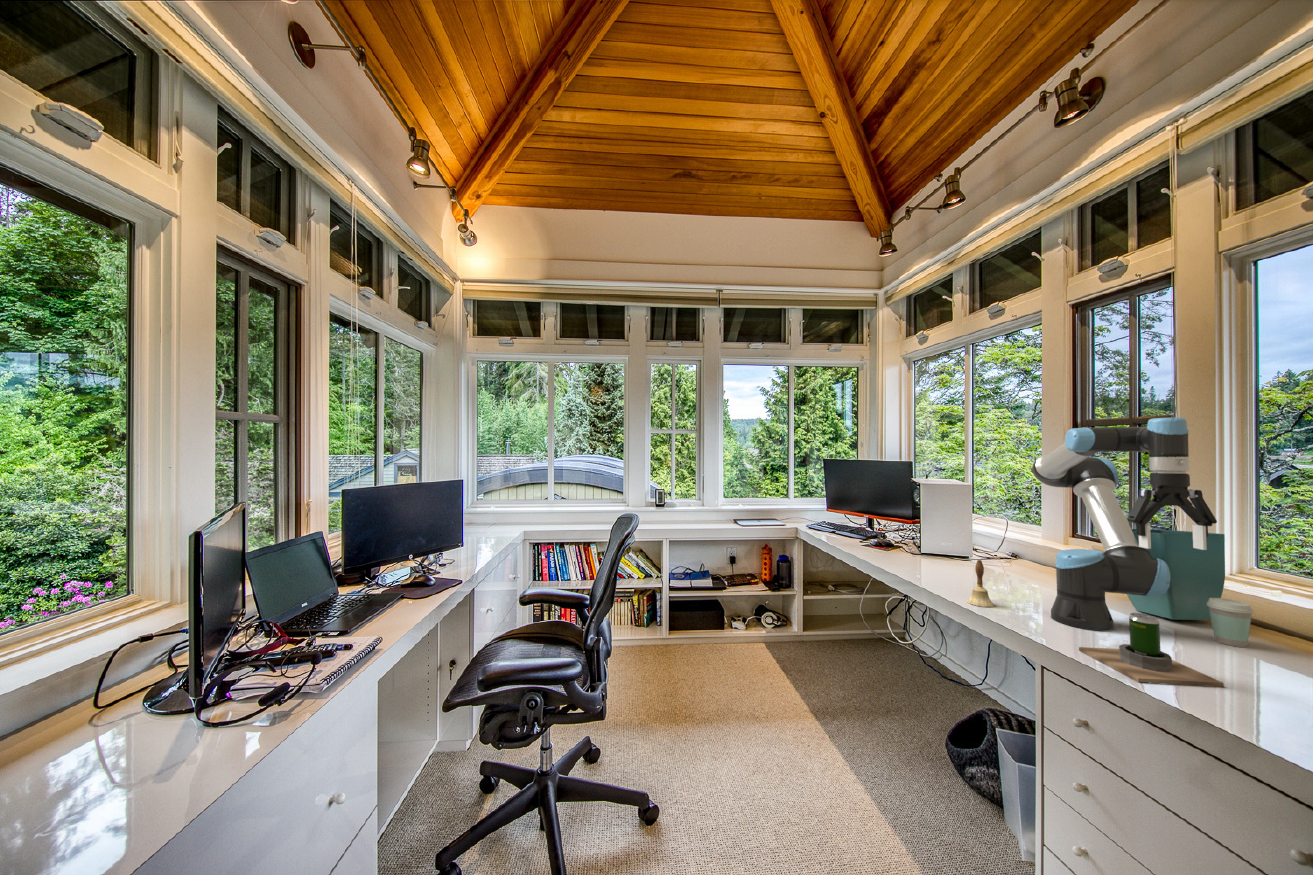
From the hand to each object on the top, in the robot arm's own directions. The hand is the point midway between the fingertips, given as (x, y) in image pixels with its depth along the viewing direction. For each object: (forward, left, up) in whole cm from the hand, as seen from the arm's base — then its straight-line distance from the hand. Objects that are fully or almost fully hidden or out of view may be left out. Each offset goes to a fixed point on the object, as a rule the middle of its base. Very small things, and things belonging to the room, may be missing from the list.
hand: (1172, 548), depth 128 cm
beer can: (+11, -17, -28) cm, 34 cm away
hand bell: (-38, -30, -29) cm, 56 cm away
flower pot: (-31, +26, -28) cm, 49 cm away
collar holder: (+11, -17, -29) cm, 35 cm away
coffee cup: (-9, +22, -29) cm, 37 cm away
